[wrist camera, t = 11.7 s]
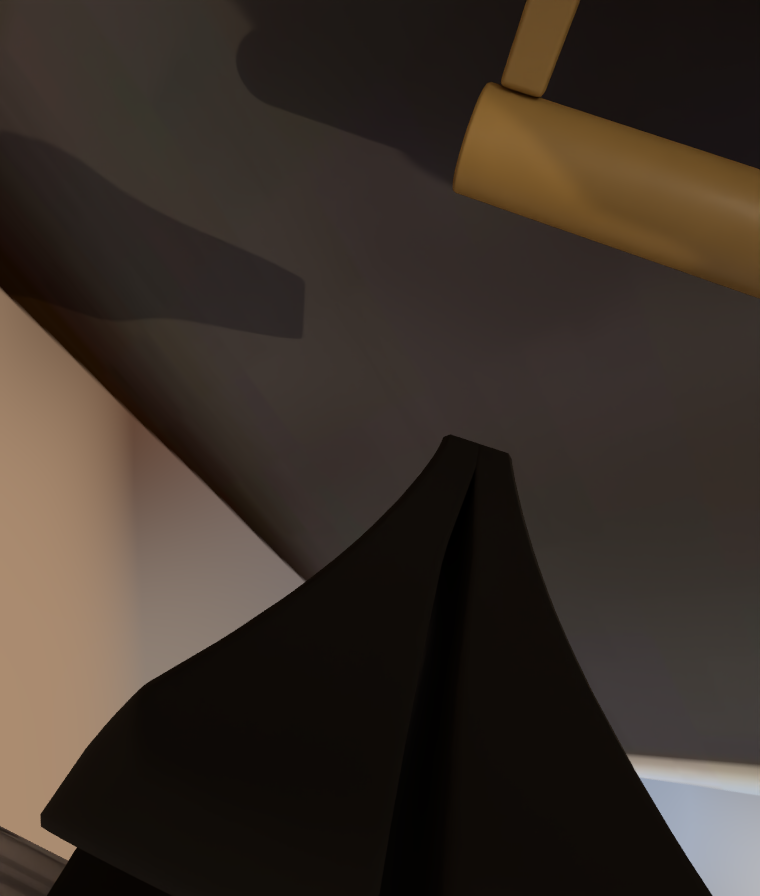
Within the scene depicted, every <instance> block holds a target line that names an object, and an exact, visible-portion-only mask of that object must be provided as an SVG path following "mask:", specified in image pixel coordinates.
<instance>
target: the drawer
mask: <svg viewBox="0 0 760 896" xmlns="http://www.w3.org/2000/svg"><path fill="white" fill-rule="evenodd" d="M579 2H580V0H527V1H526V4H525V7H524V10H523V13H522V16H521V19H520V22H519V25H518V28H517V32H516V35H515V38H514V41H513V44H512V47H511V50H510V53H509V56H508V59H507V62H506V66H505V69H504V72H503V75H502V78H501V84H502V85H500V84H497V83H493V82H489V83H487V84H486V85H485V87H484V88H483V90H482V92H481V94H480V96H479V98H478V100H477V103H476V105H475V108H474V110H473V113H472V116H471V118H470V121H469V124H468V127H467V130H466V133H465V136H464V139H463V142H462V146H461V149H460V153H459V156H458V160H457V164H456V168H455V173H454V178H453V191H454V192H455V193H458V194H461V195H464V196H467V197H469V198H472V199H475V200H478V201H481V202H484V203H487V204H489V205H492V206H495V207H498V208H501V209H504V210H507V211H510V212H512V213H515V214H518V215H521V216H524V217H527V218H530V219H533V220H535V221H538V222H541V223H544V224H547V225H550V226H553V227H555V228H558V229H561V230H564V231H567V232H570V233H573V234H576V235H578V236H581V237H584V238H587V239H590V240H593V241H596V242H599V243H601V244H604V245H607V246H610V247H613V248H616V249H619V250H622V251H624V252H627V253H630V254H633V255H636V256H639V257H642V258H644V259H647V260H650V261H653V262H656V263H659V264H662V265H665V266H667V267H670V268H673V269H676V270H679V271H682V272H685V273H688V274H690V275H693V276H696V277H699V278H702V279H705V280H708V281H710V282H713V283H716V284H719V285H722V286H725V287H728V288H731V289H733V290H736V291H739V292H742V293H745V294H748V295H751V296H754V297H756V298H759V299H760V169H757V168H754V167H751V166H748V165H745V164H742V163H739V162H736V161H733V160H730V159H726V158H723V157H720V156H717V155H714V154H711V153H708V152H705V151H702V150H699V149H696V148H693V147H690V146H687V145H684V144H680V143H677V142H674V141H671V140H668V139H665V138H662V137H659V136H656V135H653V134H650V133H647V132H644V131H641V130H638V129H634V128H631V127H628V126H625V125H622V124H619V123H616V122H613V121H610V120H607V119H604V118H601V117H598V116H595V115H592V114H589V113H585V112H582V111H579V110H576V109H573V108H570V107H567V106H564V105H561V104H558V103H555V102H552V101H549V100H546V99H543V98H539V97H541V96H542V95H543V94H544V92H545V91H546V89H547V86H548V83H549V81H550V78H551V76H552V73H553V70H554V68H555V65H556V62H557V60H558V57H559V55H560V52H561V49H562V47H563V44H564V42H565V39H566V36H567V34H568V31H569V29H570V26H571V23H572V21H573V18H574V16H575V13H576V10H577V8H578V5H579Z"/></svg>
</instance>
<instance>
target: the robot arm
mask: <svg viewBox="0 0 760 896" xmlns="http://www.w3.org/2000/svg"><path fill="white" fill-rule="evenodd" d="M41 827H43V828H44V829H46V830H47V831H49V832H51V833H52V834H54V835H56V836H58V837H59V838H61V839H63V840H65V841H67V842H69V843H71V844H72V845H74V846H76V847H77V848H76V850H75V851H74V853H73V854H72V856H71V858H70V859H69V861H68V860H66V859H64V858H62V857H60V856H58V855H56V854H54V853H52V852H50V851H48V850H46V849H44V848H42V847H40V846H38V845H36V844H34V843H32V842H30V841H28V840H26V839H24V838H22V837H20V836H18V835H16V834H15V833H13V832H11V831H9V830H7V829H5V828H3V827H1V826H0V896H712V894H711V893H710V891H709V890H708V888H707V887H706V885H705V884H704V882H703V881H702V879H701V877H700V876H699V874H698V873H697V871H696V870H695V868H694V867H693V865H692V864H691V862H690V861H689V859H688V858H687V856H686V855H685V853H684V851H683V849H682V848H681V846H680V845H679V843H678V841H677V840H676V838H675V837H674V835H673V834H672V832H671V830H670V829H669V827H668V825H667V824H666V822H665V820H664V819H663V817H662V815H661V813H660V812H659V810H658V808H657V807H656V805H655V803H654V802H653V800H652V798H651V797H650V795H649V793H648V792H647V790H646V788H645V787H644V785H643V783H642V781H641V780H640V778H639V776H638V775H637V773H636V771H635V770H634V768H633V766H632V764H631V762H630V760H629V759H628V757H627V755H626V753H625V751H624V749H623V747H622V746H621V744H620V742H619V740H618V738H617V736H616V735H615V733H614V731H613V729H612V727H611V725H610V724H609V722H608V720H607V718H606V716H605V714H604V712H603V711H602V709H601V707H600V705H599V703H598V701H597V700H596V698H595V696H594V694H593V692H592V690H591V688H590V686H589V684H588V682H587V680H586V678H585V676H584V674H583V671H582V669H581V667H580V665H579V663H578V661H577V659H576V657H575V655H574V653H573V651H572V648H571V646H570V644H569V642H568V639H567V637H566V635H565V633H564V630H563V628H562V626H561V623H560V621H559V619H558V616H557V614H556V611H555V609H554V606H553V604H552V601H551V599H550V596H549V594H548V591H547V588H546V585H545V583H544V580H543V577H542V574H541V572H540V569H539V566H538V563H537V560H536V557H535V554H534V551H533V547H532V544H531V541H530V537H529V534H528V530H527V527H526V524H525V520H524V516H523V513H522V509H521V505H520V500H519V496H518V492H517V487H516V483H515V477H514V472H513V466H512V459H511V457H510V455H509V454H508V453H505V452H502V451H499V450H496V449H493V448H490V447H487V446H484V445H481V444H478V443H475V442H472V441H469V440H466V439H463V438H460V437H456V436H453V435H448V436H445V437H443V440H442V442H441V444H440V446H439V448H438V450H437V451H436V453H435V455H434V456H433V458H432V459H431V460H430V462H429V463H428V465H427V466H426V467H425V469H424V470H423V471H422V473H421V474H420V475H419V476H418V477H417V479H416V480H415V481H414V482H413V483H412V484H411V486H410V487H409V488H408V489H407V490H406V492H405V493H404V494H403V495H402V496H401V497H400V498H399V499H398V500H397V502H396V503H395V504H394V505H393V506H392V507H391V508H390V509H389V510H388V511H387V512H386V513H385V514H384V515H383V516H382V517H381V518H380V519H379V520H378V521H377V522H376V523H375V524H374V525H373V526H372V527H371V528H370V529H368V530H367V531H366V532H365V533H364V534H363V535H362V536H361V537H360V538H359V539H358V540H356V541H355V542H354V543H353V544H352V545H351V546H350V547H348V548H347V549H346V550H345V551H344V552H343V553H341V554H340V555H339V556H338V557H337V558H335V559H334V560H333V561H332V562H330V563H329V564H328V565H327V566H325V567H324V568H323V569H322V570H320V571H319V572H318V573H316V574H315V575H314V576H313V577H311V578H310V579H309V580H307V581H306V582H305V583H303V584H302V585H301V586H299V587H298V588H297V589H295V590H294V591H293V592H291V593H290V594H288V595H287V596H286V597H284V598H283V599H281V600H280V601H279V602H277V603H275V604H274V605H272V606H271V607H269V608H268V609H266V610H265V611H264V612H262V613H261V614H259V615H257V616H256V617H254V618H253V619H252V620H250V621H249V622H247V623H246V624H244V625H243V626H241V627H240V628H238V629H237V630H235V631H234V632H232V633H230V634H229V635H227V636H226V637H224V638H222V639H221V640H219V641H218V642H216V643H214V644H213V645H211V646H209V647H207V648H206V649H204V650H202V651H201V652H199V653H197V654H196V655H194V656H192V657H191V658H189V659H187V660H186V661H184V662H182V663H180V664H179V665H177V666H175V667H174V668H172V669H170V670H168V671H167V672H165V673H163V674H162V675H160V676H158V677H156V678H155V679H153V680H151V681H150V682H148V683H147V684H146V685H144V686H143V687H142V688H141V689H139V690H138V691H137V693H135V694H134V695H133V696H132V697H131V698H130V699H129V700H128V702H127V703H126V704H125V705H124V706H123V707H122V708H121V709H120V710H119V711H118V712H117V713H116V714H115V715H114V716H113V717H112V718H111V720H110V721H109V722H108V723H107V724H106V725H105V726H104V727H103V729H102V730H101V731H100V732H99V733H98V735H97V736H96V737H95V738H94V739H93V741H92V742H91V743H90V744H89V745H88V747H87V748H86V749H85V751H84V752H83V754H82V755H81V757H80V758H79V759H78V761H77V762H76V764H75V765H74V766H73V768H72V769H71V771H70V772H69V774H68V775H67V777H66V778H65V780H64V781H63V782H62V784H61V785H60V787H59V788H58V790H57V791H56V793H55V794H54V796H53V797H52V798H51V800H50V801H49V803H48V804H47V806H46V807H45V809H44V810H43V812H42V813H41Z"/></svg>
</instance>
